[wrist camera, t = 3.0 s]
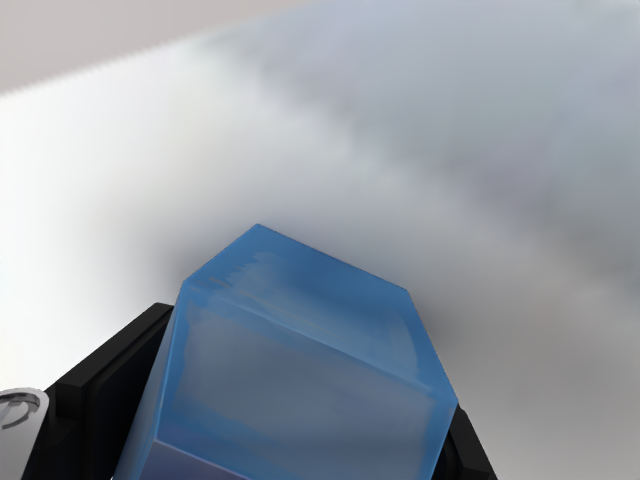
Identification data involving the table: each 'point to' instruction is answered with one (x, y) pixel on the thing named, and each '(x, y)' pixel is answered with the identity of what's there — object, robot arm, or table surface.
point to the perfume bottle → (289, 375)
